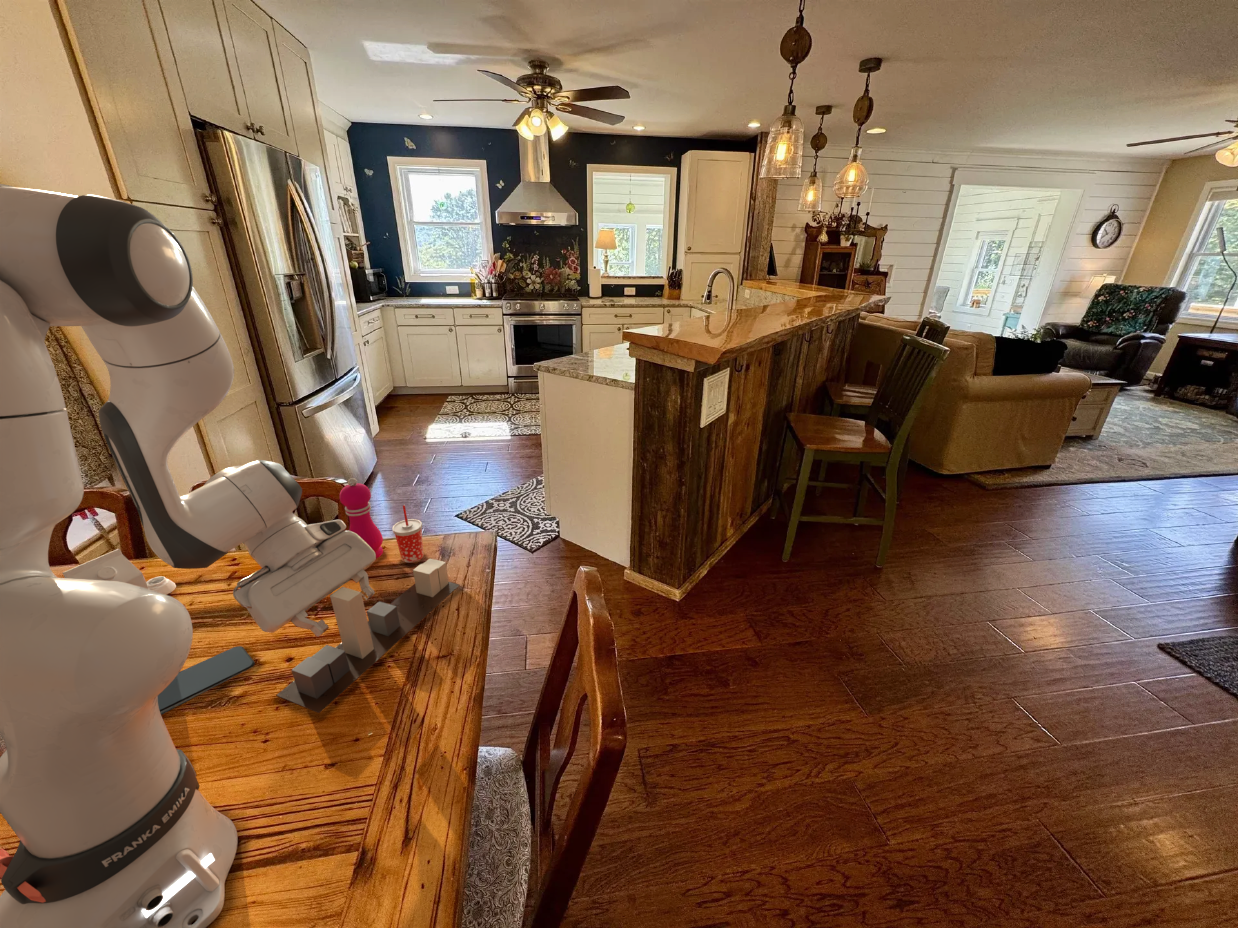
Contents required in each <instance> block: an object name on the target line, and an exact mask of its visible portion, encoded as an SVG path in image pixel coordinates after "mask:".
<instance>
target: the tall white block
mask: <svg viewBox="0 0 1238 928" xmlns="http://www.w3.org/2000/svg"><path fill="white" fill-rule="evenodd" d="M329 597H330V601H331V604H332V609H333V614H334V616H335V617H334V618H335V621H336V624H337V628H338V632H339V636H340V639H341V643H342V644H343V648H344V651H345V653H347V654H350V655H353V656H356V657H359V658H362V659H363V658H364V657H365V656H366V655H368V654H369V653H370V652H371V651H372V650H373V649H374V647H373V643H372V638H371V634H370V629H369V625H368V621H369V620H368V615H367V611H366V608H365V603H364V600H363V599H362V594H361V591H358V590H355V589H351V588H349V587H345V586H341V587H339V588H338V589H336V590H335V591H333V592H332V593H331V594H329Z"/></svg>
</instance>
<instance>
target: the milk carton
mask: <svg viewBox="0 0 1238 928" xmlns="http://www.w3.org/2000/svg"><path fill="white" fill-rule="evenodd" d="M62 575H63V578H70V579H88V580H105V581H119V582H124V583H128V584H132V585H135V586H139V587H143V588H146V589H149V588H148V585H147V583H146V582H147V580H146V578H145V577H144V574H143V572H142V571H141V570H140V569H139V568H138V567H137V566H136V565H135V564H133V563H132V562H131V561H130V560H129V559H128V558H127V556H125V555H124V554H123V553H122V551H121V549H120V548H117V549H114V550H113V551H110V552H107V553H105V554H103V555H100V556H98V557H95V558H93V559H90V560H88V561H86V562H84V563H80V564H79V565H77V566H74V567H72V568H69V569H67V570H65V571H63V572H62Z"/></svg>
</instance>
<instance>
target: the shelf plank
mask: <svg viewBox="0 0 1238 928" xmlns="http://www.w3.org/2000/svg"><path fill="white" fill-rule="evenodd" d="M460 586H461V584H458V583H455V582H452V581H449V583H448V584H447V585H446V586H445V587H444V588H443V589H442V590H440V591H439V592H438V593H437V594H436V595H435V596H434V597H430V596H427V595H423V594H419V593H417V591H416V586H415V583H414V584H412V585H411V586H410V587H409V588H407V589H406V590H405V591H404V592H402V593H401V594H400V595H399V596H397V597H396V598H395V599H394V600H392V601H391V602H390V603H389V604H390V605H393V606H396V607H397V611H398V617H399V622H400V626H399V627H398V628H397V629H396V630H395V631H394V632H393V633H391V634H390V635H389V636H386V635H383V634H380V633H377V632H373V631H371V628H370V624H369V620H367V621H368V625H369V629H370V634H371V638H372V643H373V647H374V649H373V650H372V651H371V652H370V653H369V654H368V655H366V656H365V657H364V658H363V659H362V658H359V657H356V656H353V655H350V654H347V653H346V656H347V660H348V664H349V668H350V670H349V671H348V672H347V673H346V674H345V675H344V676H342V677H341V678H340V679H339V680H338V681H337V682H336V683H333V685H332V686H331V687H330V688H329V689H328V690H327V691H325V692H324V693H323V694H322V695H321V696H320V697H319V698H317V699H316V698H314V697H311V696H309V695H306V694H304V693H301V692H298V690H297V686H296V683H295V680H294V679H293V681H292V682H291V683H290V684H288V685H287V686H286V687H284V688H283V689H282V690H280V691H279V692H278V693H277V694H276V697H278V698H281V699H283V700H286V701H288V702H290V703H293V704H296V705H298V706H301V707H303V708H305V709H308V710H310V711H312V712H315V713H316V714H317V713H318V714H321V712H323V711H324V710H325V709H326V708H327V707H328V706H329V705H330V704H331V703H332V702H333V701H335V700H336V699H337V698H338V697H339V696H340V695H341V694H342V693H344V692H345V691H346V690H347V689H348V688H349V687H350V686H351V685H353V683H355V681H356V680H357V679H359V678H360V677H361V676H362V675H363V674H364V673H365V672H367V671H368V670H369V669H370V668H371V667H372V666H373V665H375V663H377V662H378V661H379V660H380V659H381V658H382V657H383V656H384V655H385V654H386V653H388V651H389V650H390V649H392V648H393V647H394V646H395V645H396V644H398V642H400V640H402V638H404V637H405V636H406V635H407V634H409V632H410V631H412V629H414V628H415V627H416V626H417V625H418V624H420V623H421V622H422V620H424V619H425V617H428V615H430V613H431V612H432V611H433V610H435V609H436V607H438V606H439V605H440V604H441V603H443V601H444V600H445V599H447V598H448V597H449V596H450V595H451V594H452V593H453V592H454V591H455V590H457V589H458V587H460ZM335 648H337V649H340V650H343V651H344V648H343V644H342V642H340V643H339V644H338V645H337V646H335Z"/></svg>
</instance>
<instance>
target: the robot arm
mask: <svg viewBox="0 0 1238 928" xmlns="http://www.w3.org/2000/svg"><path fill="white" fill-rule="evenodd" d="M193 285H194V276H193V269H192V266H191V261H190V259H189V256H188V254H187V251H186V249H185V247H184V246H183V244H182V242H181V240H180V239H179V238H178V237H177V236H176V234H175V233H174V232H173V231H172V230H171V229H170V228H169V227H168V226H167V225H166V224H164V223H163V222H162V221H161V220H160V219H159V218H158V217H156V216H155V215H154V214H153V213H151V212H150V211H148V210H147V209H145V208H144V207H141V206H138V205H135V204H133V203H129V202H126V201H122V200H119V199H115V198H111V197H106V196H101V195H96V194H83V195H79V196H78V195H75V194H74V195H73V194H67V193H61V192H55V191H49V190H43V189H35V188H34V189H33V188H27V187H25V188H24V187H16V186H13V185H9V184H4V183H0V737H2V739H3V741H4V744H5V748H6V750H5V751H3V753H2V755H1V756H0V814H1V816H2V817H3V819H4V820H5V821H6V823H7V824H8V825H9V827H10V828H11V830H12V831H13V832H14V834H15V835H16V837H17V838H18V839H19V843H18V846H17V849H16V851H15V853H14V855H10V853H9V852H8V851H7V850H5V849H4V848H0V883H1V885H2V886H3V888H4V890H3V892H2V893H1V895H0V928H207V927H209V926H210V924H212V923H213V922H214V921H215V920H216V919H217V918H218V917H219V915H220V914H221V913H222V910H223V908H224V904H225V892H226V890H225V889H226V888H225V883H226V880H227V877H228V874H229V872H230V870H231V867H232V865H233V863H234V859H235V858H236V854H237V850H238V843H239V836H238V835H239V834H238V830H237V828H236V825H235V823H234V822H233V821H232V819H230V818H229V817H228V816H226V815H225V814H223V813H221V812H220V811H218V810H217V809H216V808H214V807H213V805H211V804H210V802H209V801H208V800H207V799H206V798H205V796H204V795H203V794H202V792H201V791H200V790H199V789H200V783H199V781H198V779H197V773H196V770H195V768H194V766H193V764H192V763H191V761H190V759H189V758H188V756H187V755H186V754H185V753H184V751H183V750H182V749H178V748H176V746H175V744H174V742H173V739H172V737H171V734H170V732H169V731H168V727H167V725H166V724H165V721H164V719H163V716H162V714H160V710H159V706H158V695H159V694H160V693H161V692H162V691H163V690H164V689H165V688H166V687H167V686H168V685H169V684H170V683H171V682H172V681H173V680H174V679H175V677H176V676H177V675H178V673H179V672H180V671H182V669H183V667H184V665H185V664H186V662H187V659H188V657H189V655H190V652H191V648H192V644H193V638H194V637H193V636H194V628H193V622H192V618H191V614H190V613H189V610H188V609H187V607H186V606H185V605H184V604H183V603H182V602H181V601H180V600H178V599H177V598H175V597H173V596H171V595H169V594H167V595H165V594H162V593H159V592H156V591H153V590H150V589H146V588H143V587H139V586H135V585H132V584H128V583H124V582H119V581H105V580H88V579H70V578H65V577H58V576H57V575H56V574H55V573H54V572H53V570H52V568H51V566H50V563H49V547H50V543H51V542H50V541H51V537H52V534H53V531H54V528H55V527H56V525H57V524H58V523H61V522H62V521H63V520H65V519H66V518H68V517H70V516H71V515H72V514H73V513H74V512H75V511H76V510H77V509H78V507H79V506H80V504H81V503H82V501H83V498H84V494H85V487H84V481H83V478H82V474H81V468H80V465H79V460H78V456H77V451H76V450H77V449H76V447H75V442H74V436H73V433H72V429H71V424H70V420H69V414H68V410H67V409H66V408H67V406H66V403H65V397H64V394H63V391H62V386H61V384H60V380H59V376H58V375H57V371H56V369H55V366H54V363H53V360H52V358H51V355H50V352H49V350H48V347H47V344H46V343H45V341H46V337H47V334H48V332H49V329H50V327H81V328H82V330H83V332H84V333H85V335H86V337H87V338H88V341H90V344H91V345H92V346H93V348H94V349H95V351H96V352H97V354H98V355H99V357H100V359H101V360H102V362H103V363H104V365H105V366H106V369H107V371H108V374H109V381H110V388H109V389H110V390H109V396H108V398H107V400H106V402H105V403H104V404H103V405H102V406H101V407H100V408H99V410H98V420H99V426H100V429H101V432H102V434H103V437H104V439H105V442H106V444H107V447H108V449H109V451H110V454H111V456H112V458H113V461H114V463H115V465H116V468H117V469H118V471H119V474H120V476H121V478H122V480H123V482H124V485H125V487H126V490H127V491H128V493H129V495H130V497H131V500H132V502H133V504H134V506H135V508H136V511H137V514H138V516H139V519H140V523H141V525H142V528H143V531H144V535H145V539H146V543H147V544H148V546H149V547H150V549H151V550H152V552H153V553H154V554H155V555H156V556H157V557H158V558H159V560H161V561H162V562H164V563H165V564H167V565H168V566H171V567H172V568H173V569H182V570H183V569H184V570H193V569H194V570H197V569H207V568H209V567H210V566H212V565H213V564H214V563H216V562H217V561H219V560H220V559H221V558H223V557H224V556H226V555H227V554H228V553H229V552H230V551H232V550H233V549H236V547H239V546H240V545H242V544H243V545H244V546H245V548H246V550H247V552H248V554H249V556H250V557H251V558H252V559H253V560H254V562H256V563H257V565H258V566H260V568H259V569H258V570H256V571H255V572H253V573H251V574H250V575H249V576H246V577H243V578H242V579H240V580H239V581H238V582H236V586H235V587H234V588H233V592H232V596H233V598H234V599H235V601H236V602H237V603H238V604H239V605H240V606H241V607H243V608H246V610H247V612H248V613H249V615H250V617H251V618H252V620H253V621H254V622H255V623H256V625H257V626H258V628H260V629H261V631H262V632H265V633H271V634H273V633H275V632H277V631H278V630H280V629H281V628H283V627H284V626H286V625H287V624H289V623H290V622H291V623H292V624H293V625H294V626H295V627H297V628H301V629H304V630H308V631H309V630H310V631H311V633H313V634H314V636H316V637H317V638H318V637H320V636H322V635H323V634H324V633H325V632H327V631H328V630H329V628H330V627H329V625H328V624H327V623H326V622H325V621H324V619H320V620H318V621H315V620H312V619H310V618H307V617H308V615H309V614H308V613H307V612H306V611H308V610H309V609H310V608H312V607H313V606H315V605H316V604H317V603H319V602H321V601H322V600H323V599H325V598H326V597H328V596H330V595H331V594H333V593H334V592H336V591H337V590H339V589H340V588H341V587H343V586H344V585H346V584H347V583H348V582H349V581H351V580H353V581H354V583H356V584H357V583H359V586H360V592H361V594H362V599H363V601H365V602H366V601H368V600H369V599H370V598H372V597H373V596H374V595H375V593H376V592H375V590H374V589H373V588H372V586H371V585H370V581H369V575H368V573H367V572H366V570H367V569H368V568H370V567H371V566H372V565H373V564H374V562H376V560H377V559H376V554H375V552H374V550H373V549H372V548H371V547H370V546H369V545H368V544H367V543H366V542H365V541H364V540H363V539H362V538H361V537H360V536H358V535H357V534H356V533H354V532H352V531H349V530H346V528H347V525H346V523H345V522H344V521H343V520H342V519H333V520H328V521H323V522H317V523H310V524H307V523H306V522H305V520H303V519H302V518H301V517H298V516H297V515H296V514H295V513H294V512H293V511H295V510H297V509H298V507H299V504H300V502H301V499H302V494H303V487H301V485H300V484H299V482H297V481H296V479H295V478H294V477H293V476H292V475H291V474H290V472H288V471H287V470H286V469H285V467H284V466H283V465H282V464H281V463H278V462H274V461H270V460H264V459H256V460H254V461H251V462H250V461H249V462H247V463H245V464H243V465H233V466H230V467H229V466H228V467H226V468H223V469H222V470H220V471H218V472H216V473H214V474H213V475H212V476H211V477H209V478H208V479H207V480H206V482H205V483H204V484H203V486H200V487H198V488H196V489H194V490H192V491H190V492H188V493H186V494H183V495H180V493H179V490H178V488H177V485H176V482H175V480H174V477H173V475H172V471H171V470H170V467H169V463H168V460H169V456H170V454H171V452H172V450H173V449H174V447H175V445H176V444H177V443H178V442H179V441H180V440H181V438H183V437H184V435H185V434H186V433H187V432H189V431H190V430H191V429H192V428H193V427H194V426H195V425H196V424H198V423H199V422H200V421H201V420H203V418H205V417H206V416H208V415H209V414H210V413H212V412H213V411H214V410H215V409H216V408H217V407H219V405H221V403H222V402H223V401H224V399H225V398H226V396H227V395H228V393H229V392H230V390H231V387H232V385H233V382H234V378H235V366H234V361H233V359H232V356H231V353H230V350H229V348H228V344H227V343H226V341H225V339H224V337H223V335H222V333H221V331H220V329H219V327H218V325H217V323H216V322H215V320H214V318H213V316H212V314H211V312H210V310H209V309H208V307H207V306H206V304H205V303H204V301H203V299H202V298H201V296H200V295H199V293H198V292H197V290H196V289H195V287H194V286H193ZM194 921H195V922H194ZM193 922H194V923H193ZM192 923H193V924H192Z"/></svg>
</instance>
